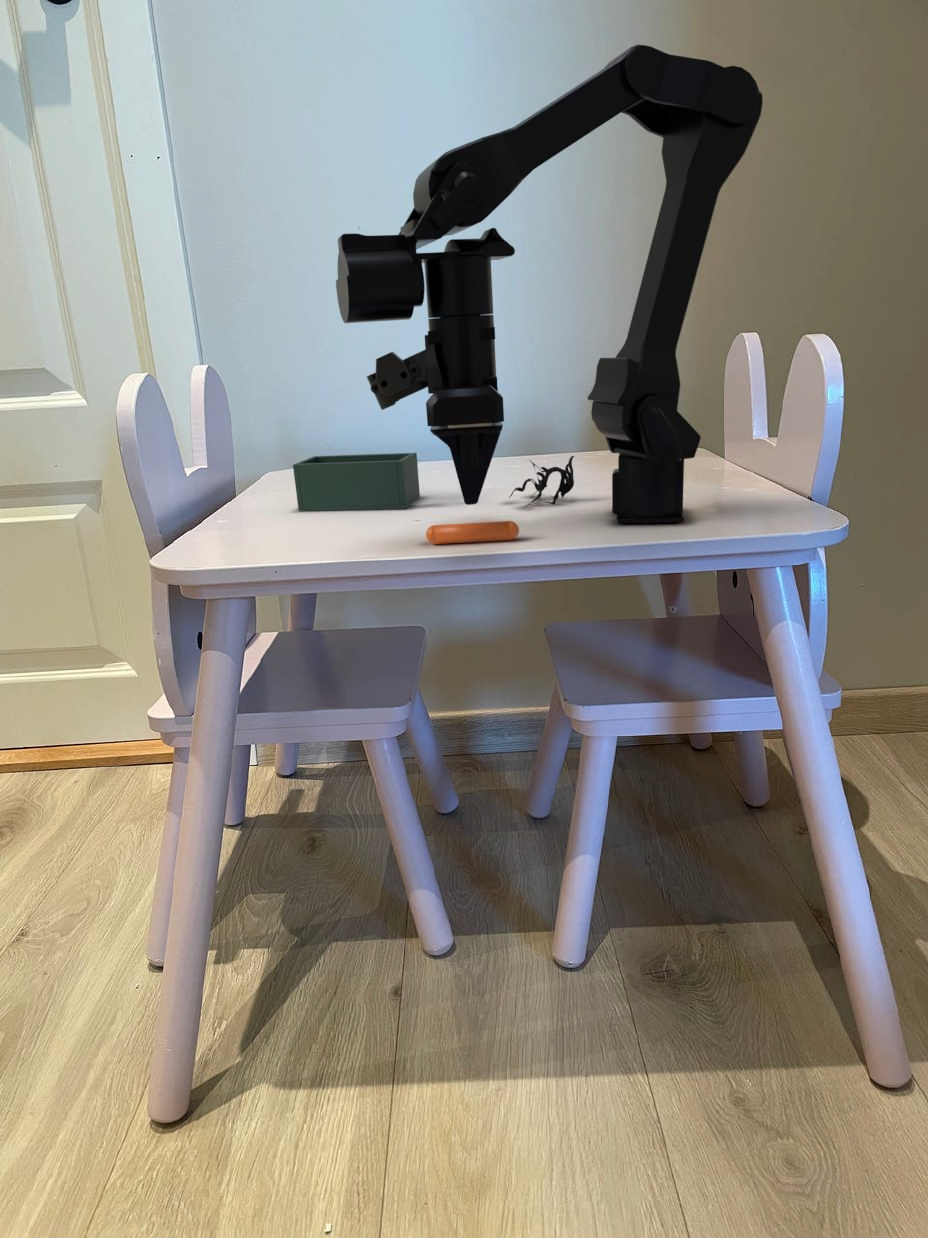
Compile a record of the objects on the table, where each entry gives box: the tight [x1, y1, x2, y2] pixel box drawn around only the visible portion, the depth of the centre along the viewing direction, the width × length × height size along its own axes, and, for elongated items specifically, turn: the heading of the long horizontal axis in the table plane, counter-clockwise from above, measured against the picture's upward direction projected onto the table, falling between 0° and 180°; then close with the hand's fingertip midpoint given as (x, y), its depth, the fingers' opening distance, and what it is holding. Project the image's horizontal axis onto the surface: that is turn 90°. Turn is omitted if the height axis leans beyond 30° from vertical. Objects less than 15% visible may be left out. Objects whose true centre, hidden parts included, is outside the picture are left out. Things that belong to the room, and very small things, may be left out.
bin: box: [292, 452, 421, 512], centre depth 99 cm, size 13×7×6 cm, turn 79°
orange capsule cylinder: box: [425, 520, 520, 545], centre depth 78 cm, size 9×2×2 cm, turn 90°
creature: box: [508, 455, 575, 509], centre depth 94 cm, size 8×5×8 cm
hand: (471, 494), depth 77 cm, fingers open, 9 cm apart
